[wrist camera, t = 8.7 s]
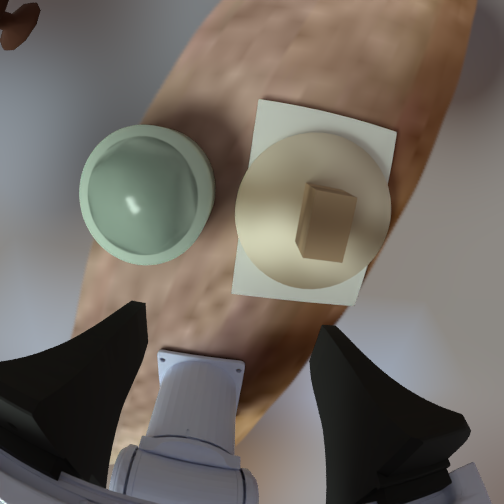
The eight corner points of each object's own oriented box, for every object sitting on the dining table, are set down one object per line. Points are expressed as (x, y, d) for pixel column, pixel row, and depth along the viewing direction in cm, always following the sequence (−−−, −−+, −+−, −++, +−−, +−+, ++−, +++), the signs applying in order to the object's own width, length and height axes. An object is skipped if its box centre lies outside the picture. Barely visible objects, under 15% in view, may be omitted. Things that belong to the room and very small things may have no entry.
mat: (352, 302, 23) (354, 306, 22) (231, 289, 22) (231, 293, 22) (393, 132, 18) (396, 132, 17) (258, 100, 17) (258, 99, 17)
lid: (365, 290, 22) (383, 315, 18) (227, 275, 21) (223, 302, 18) (398, 153, 18) (427, 156, 14) (247, 120, 17) (246, 113, 14)
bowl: (208, 256, 21) (202, 274, 18) (99, 241, 21) (81, 255, 18) (223, 131, 18) (219, 129, 15) (103, 126, 17) (83, 125, 15)
